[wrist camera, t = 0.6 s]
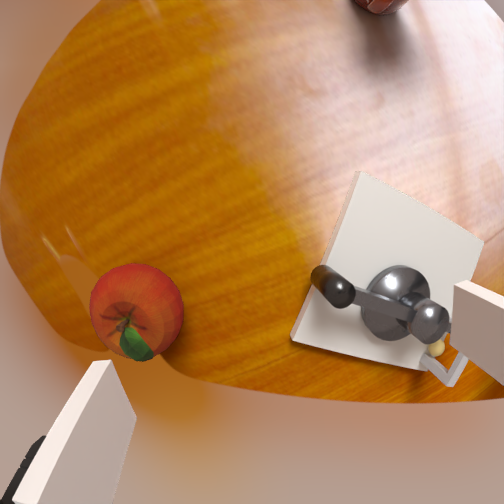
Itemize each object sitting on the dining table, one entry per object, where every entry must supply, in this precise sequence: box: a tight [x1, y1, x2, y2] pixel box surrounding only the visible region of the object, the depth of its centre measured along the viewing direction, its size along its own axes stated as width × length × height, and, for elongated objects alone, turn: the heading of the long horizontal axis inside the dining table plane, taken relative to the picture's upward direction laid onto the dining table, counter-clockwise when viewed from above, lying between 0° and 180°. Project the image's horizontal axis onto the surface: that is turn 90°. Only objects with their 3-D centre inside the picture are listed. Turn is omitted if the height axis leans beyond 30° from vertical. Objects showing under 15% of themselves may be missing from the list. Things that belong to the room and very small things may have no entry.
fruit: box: [90, 263, 183, 362], centre depth 29 cm, size 10×10×10 cm
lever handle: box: [311, 265, 452, 344], centre depth 31 cm, size 19×9×6 cm, turn 69°
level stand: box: [290, 171, 484, 387], centre depth 32 cm, size 22×20×8 cm
